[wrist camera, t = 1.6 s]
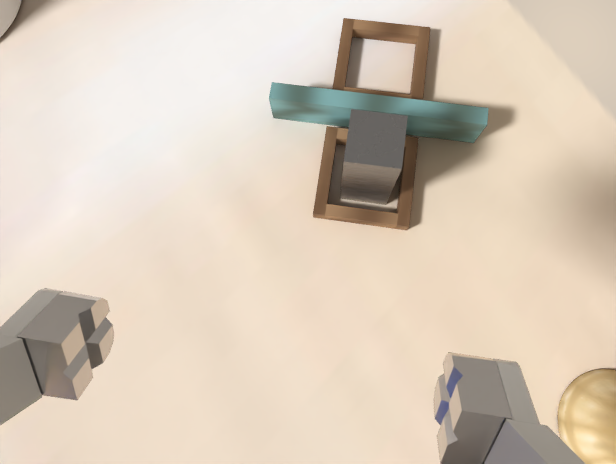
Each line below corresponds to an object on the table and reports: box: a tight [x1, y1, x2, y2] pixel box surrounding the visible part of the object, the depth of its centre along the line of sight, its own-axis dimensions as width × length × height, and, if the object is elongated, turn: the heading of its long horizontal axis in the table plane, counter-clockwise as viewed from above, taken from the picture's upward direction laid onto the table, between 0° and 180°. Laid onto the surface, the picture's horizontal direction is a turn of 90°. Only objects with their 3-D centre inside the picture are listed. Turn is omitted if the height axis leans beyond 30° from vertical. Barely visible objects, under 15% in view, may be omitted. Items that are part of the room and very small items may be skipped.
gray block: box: [340, 109, 408, 205], centre depth 36 cm, size 4×4×8 cm
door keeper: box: [269, 18, 488, 230], centre depth 39 cm, size 18×19×4 cm
